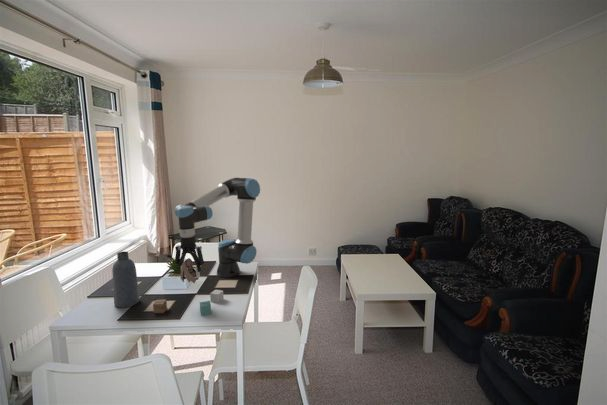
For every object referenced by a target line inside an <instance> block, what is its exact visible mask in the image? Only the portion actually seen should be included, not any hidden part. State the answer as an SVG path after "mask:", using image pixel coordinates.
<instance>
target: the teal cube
mask: <svg viewBox="0 0 607 405" xmlns="http://www.w3.org/2000/svg"><path fill="white" fill-rule="evenodd" d="M199 311H200V312H199V313H200V317H202V316H208V315H212V306H211V300H207V301H202V302H199Z"/></svg>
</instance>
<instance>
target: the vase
mask: <svg viewBox="0 0 607 405" xmlns="http://www.w3.org/2000/svg"><path fill="white" fill-rule="evenodd" d="M138 282H139V281H138V275H137V268H136V264H135V262H134V261H133V260H132V259H131V258H129V252H128V251H120V252H117V260H116V261H115V262H114V263H113V265H112V286H113V287H112V288H113V289H112V290H113V304H114V306H115V307H117V308H122V309H123V308H128V307H132V306H134V305H136V304H138V303H139V302H140V298H141V297H140V291H139V283H138Z"/></svg>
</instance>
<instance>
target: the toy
mask: <svg viewBox="0 0 607 405" xmlns="http://www.w3.org/2000/svg"><path fill="white" fill-rule="evenodd" d="M194 264H195V263H193V260H192V258H190V257H189V258H188V257H187V258H185V259H184V262H183V263H182V269H181V271H180V280H181V282H183V283H185V280H187V282H188V283H189V284H190V283H191V282H192V283H193V284H195V283H196V281H198V280H199V279H200V277H199V278H196V268H195V267H196V266H194ZM184 274H185V276H184Z"/></svg>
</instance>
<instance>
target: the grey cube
mask: <svg viewBox="0 0 607 405" xmlns="http://www.w3.org/2000/svg"><path fill="white" fill-rule="evenodd" d="M209 295H210V296H209V297H210V303H215V304H216V303H217V304H219V303H221V302H222V301H223V300H224V290H221V289H214V290H213V291H211V292H210V293H209Z"/></svg>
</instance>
